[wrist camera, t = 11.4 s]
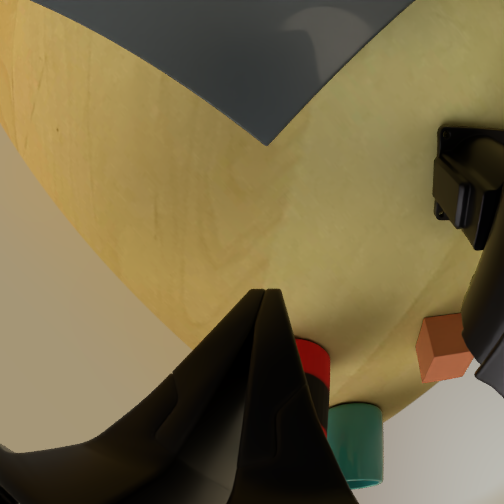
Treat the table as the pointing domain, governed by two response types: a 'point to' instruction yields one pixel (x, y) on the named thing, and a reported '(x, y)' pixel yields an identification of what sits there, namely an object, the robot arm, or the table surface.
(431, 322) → the block
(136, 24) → the small filing cabinet
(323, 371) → the soda can
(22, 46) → the table surface
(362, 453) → the cup
